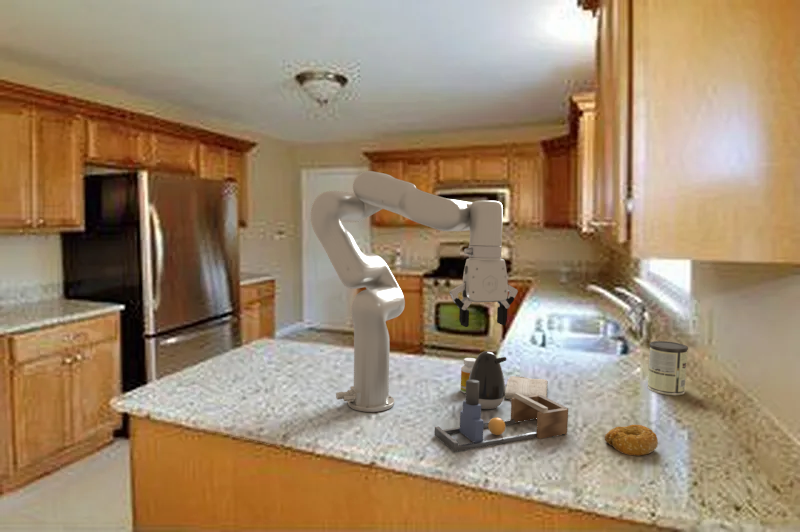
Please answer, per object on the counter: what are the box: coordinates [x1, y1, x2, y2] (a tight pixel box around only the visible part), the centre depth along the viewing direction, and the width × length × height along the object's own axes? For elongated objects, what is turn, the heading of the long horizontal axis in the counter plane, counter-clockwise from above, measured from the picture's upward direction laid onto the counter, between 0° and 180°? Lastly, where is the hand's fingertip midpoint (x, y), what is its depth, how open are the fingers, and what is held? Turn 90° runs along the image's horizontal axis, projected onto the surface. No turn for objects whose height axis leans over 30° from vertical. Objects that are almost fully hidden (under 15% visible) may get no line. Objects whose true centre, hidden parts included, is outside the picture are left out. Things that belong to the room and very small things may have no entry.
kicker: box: [459, 380, 485, 443], centre depth 117 cm, size 3×7×13 cm, turn 23°
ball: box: [487, 416, 506, 436], centre depth 120 cm, size 4×4×4 cm
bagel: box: [604, 424, 659, 457], centre depth 114 cm, size 10×11×5 cm
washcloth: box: [504, 375, 548, 400], centre depth 151 cm, size 12×18×3 cm, turn 164°
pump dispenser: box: [469, 350, 507, 410], centre depth 138 cm, size 10×10×15 cm
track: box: [434, 418, 537, 453], centre depth 119 cm, size 22×9×2 cm, turn 113°
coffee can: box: [647, 340, 689, 396], centre depth 155 cm, size 10×10×14 cm
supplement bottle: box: [460, 357, 476, 394], centre depth 150 cm, size 5×5×10 cm
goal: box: [510, 393, 569, 440], centre depth 124 cm, size 9×11×7 cm
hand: (483, 324), depth 121 cm, fingers open, 9 cm apart
